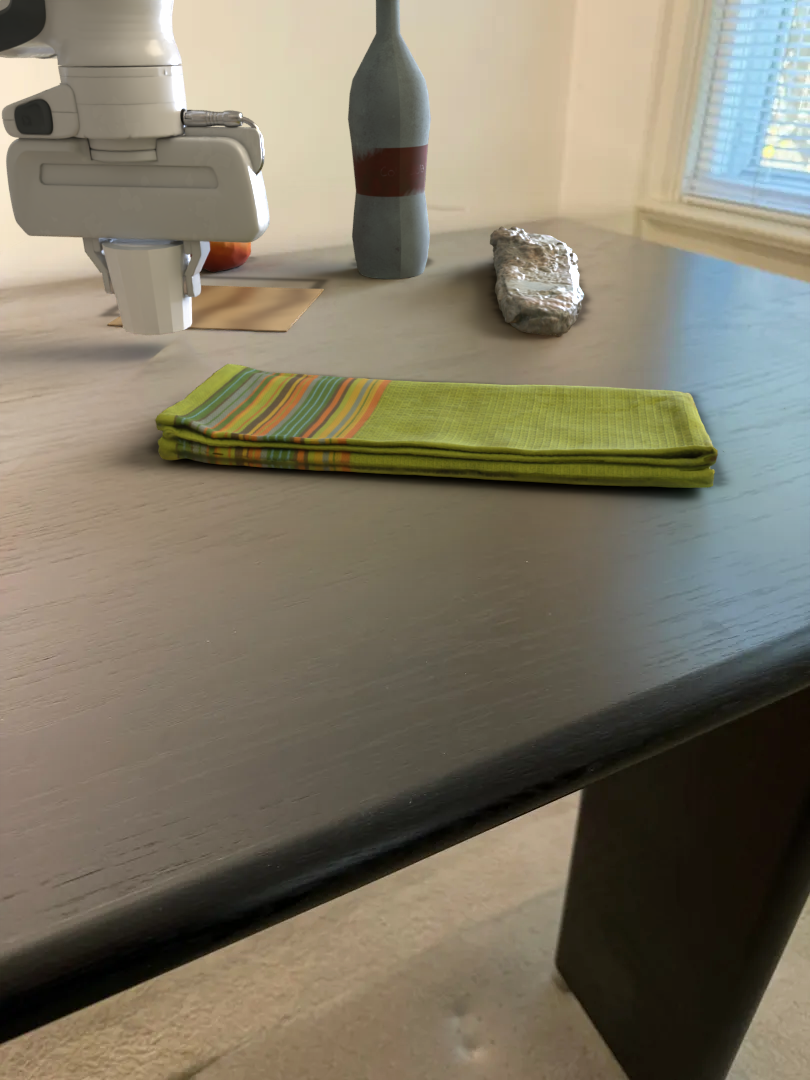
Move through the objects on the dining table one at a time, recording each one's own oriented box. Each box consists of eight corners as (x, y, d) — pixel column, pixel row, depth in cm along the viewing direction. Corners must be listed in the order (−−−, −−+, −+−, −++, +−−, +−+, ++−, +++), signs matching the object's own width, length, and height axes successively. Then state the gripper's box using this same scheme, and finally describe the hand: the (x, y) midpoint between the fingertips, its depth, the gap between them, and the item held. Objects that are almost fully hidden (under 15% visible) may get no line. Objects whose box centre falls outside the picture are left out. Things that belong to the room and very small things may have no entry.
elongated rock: (484, 351, 83) (591, 359, 82) (489, 295, 80) (600, 303, 80) (487, 250, 112) (566, 256, 112) (491, 207, 109) (572, 212, 109)
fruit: (223, 243, 113) (234, 190, 107) (253, 285, 111) (267, 233, 104) (165, 252, 109) (173, 197, 103) (195, 296, 106) (205, 243, 100)
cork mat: (107, 325, 87) (107, 324, 87) (168, 285, 100) (168, 284, 100) (286, 332, 84) (286, 330, 84) (323, 290, 98) (323, 288, 98)
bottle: (356, 262, 110) (347, -24, 95) (430, 262, 110) (432, -25, 95) (349, 280, 102) (338, -29, 87) (429, 280, 102) (431, -30, 87)
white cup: (137, 342, 71) (123, 252, 67) (102, 323, 75) (87, 238, 72) (214, 327, 74) (204, 240, 71) (176, 309, 79) (166, 227, 76)
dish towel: (229, 386, 71) (224, 346, 70) (686, 407, 67) (693, 366, 65) (153, 465, 58) (145, 419, 57) (716, 500, 53) (725, 451, 52)
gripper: (272, 107, 68) (285, 289, 75) (24, 104, 71) (58, 280, 78) (248, 114, 63) (263, 309, 69) (-21, 110, 65) (20, 299, 72)
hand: (153, 294), depth 74 cm, fingers closed on white cup, 5 cm apart
